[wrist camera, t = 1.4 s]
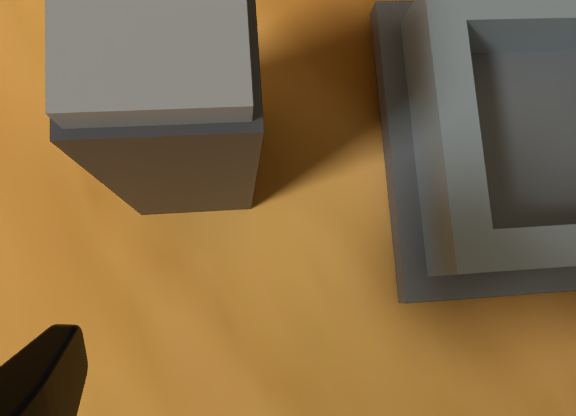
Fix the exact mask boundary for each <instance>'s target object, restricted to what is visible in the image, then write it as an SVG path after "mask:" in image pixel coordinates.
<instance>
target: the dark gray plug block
mask: <svg viewBox="0 0 576 416" xmlns="http://www.w3.org/2000/svg"><path fill="white" fill-rule="evenodd" d="M45 98H46V114H47V115H48V116H49V117H50V142H52V143H53V144H54V145H55V146H57V147H58V148H59V149H60V150H62V151H63V152H64V153H65V154H67V155H68V156H69V157H70V158H72V159H73V160H74V161H75V162H77V163H78V164H79V165H80V166H81V167H83V168H84V169H85V170H86V171H88V172H89V173H90V174H91V175H93V176H94V177H95V178H96V179H98V180H99V181H100V182H101V183H103V184H104V185H105V186H106V187H108V188H109V189H110V190H111V191H112V192H114V193H115V194H116V195H117V196H119V197H120V198H121V199H122V200H124V201H125V202H126V203H127V204H129V205H130V206H131V207H132V208H134V209H135V210H136V211H137V212H139V213H140V214H141V215H149V214H168V213H186V212H204V211H222V210H240V209H251V206H252V200H253V194H254V188H255V182H256V177H257V171H258V165H259V159H260V153H261V147H262V142H263V136H264V124H263V108H262V93H261V78H260V63H259V48H258V32H257V17H256V2H255V0H45Z"/></svg>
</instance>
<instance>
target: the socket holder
mask: <svg viewBox="0 0 576 416" xmlns="http://www.w3.org/2000/svg"><path fill="white" fill-rule="evenodd" d="M370 17H371V27H372V37H373V47H374V57H375V67H376V77H377V87H378V97H379V107H380V118H381V128H382V138H383V148H384V158H385V168H386V178H387V188H388V198H389V208H390V218H391V229H392V239H393V249H394V259H395V269H396V279H397V289H398V299H399V303H418V302H432V301H445V300H458V299H471V298H484V297H498V296H511V295H524V294H537V293H550V292H564V291H576V0H414V1H383V2H375V4H374V6H373V8H372V11H371V13H370Z"/></svg>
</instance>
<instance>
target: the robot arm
mask: <svg viewBox="0 0 576 416" xmlns="http://www.w3.org/2000/svg"><path fill="white" fill-rule="evenodd" d="M87 369H88V361H87V355H86V350H85V344H84V339H83V333H82V330H81V328H80V327H79V326H78V325H66V324H55V325H53V326H51V327H49V328H48V329H46V330H45V331H44V332H43V333H42V334H40V335H39V336H38V337H37V338H35V339H34V340H33V341H32V342H30V343H29V344H28V345H27V346H25V347H24V348H23V349H22V350H20V351H19V352H18V353H17V354H15V355H14V356H13V357H12V358H10V359H9V360H8V361H7V362H5V363H4V364H3V365H2V366H0V416H77V412H78V408H79V404H80V400H81V396H82V392H83V388H84V384H85V380H86V376H87Z"/></svg>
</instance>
